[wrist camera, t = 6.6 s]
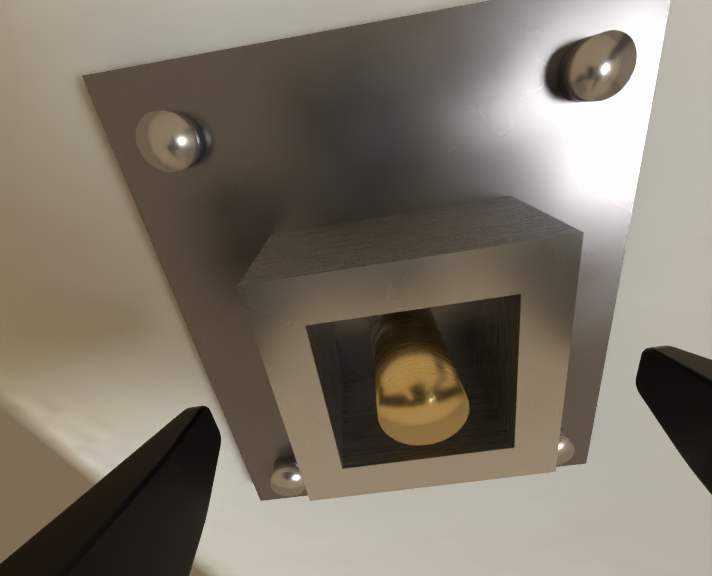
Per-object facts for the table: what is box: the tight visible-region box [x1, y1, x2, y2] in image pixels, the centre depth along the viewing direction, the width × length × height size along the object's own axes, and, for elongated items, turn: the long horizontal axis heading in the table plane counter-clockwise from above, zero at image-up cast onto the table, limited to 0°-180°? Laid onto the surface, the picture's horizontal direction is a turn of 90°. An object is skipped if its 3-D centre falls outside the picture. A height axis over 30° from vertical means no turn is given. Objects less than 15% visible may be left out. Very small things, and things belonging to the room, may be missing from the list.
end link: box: [238, 196, 584, 501], centre depth 9 cm, size 6×6×3 cm
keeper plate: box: [82, 0, 671, 501], centre depth 9 cm, size 12×14×4 cm
